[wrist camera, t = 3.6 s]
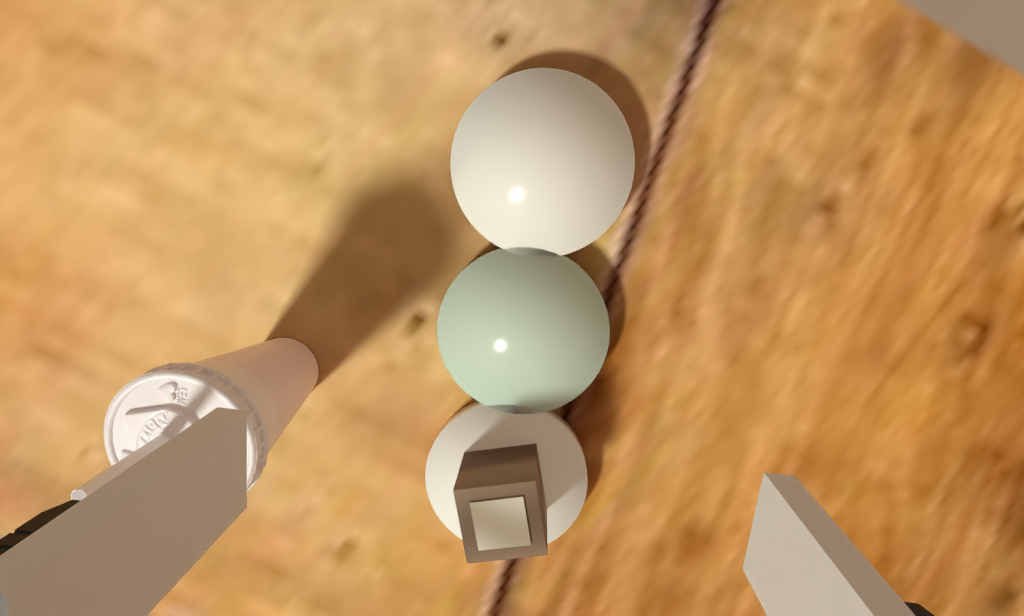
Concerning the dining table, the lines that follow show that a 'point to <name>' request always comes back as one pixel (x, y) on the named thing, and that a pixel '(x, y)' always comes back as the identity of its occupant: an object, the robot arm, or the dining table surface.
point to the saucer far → (503, 429)
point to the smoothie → (208, 403)
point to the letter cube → (501, 504)
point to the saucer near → (542, 162)
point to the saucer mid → (523, 330)
